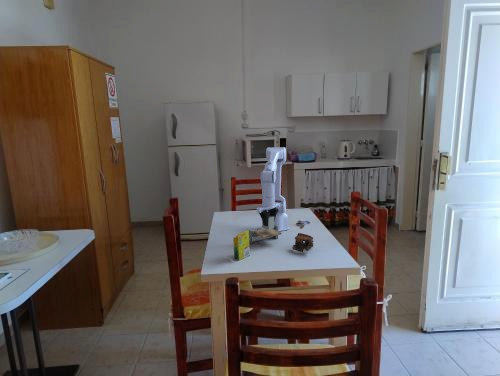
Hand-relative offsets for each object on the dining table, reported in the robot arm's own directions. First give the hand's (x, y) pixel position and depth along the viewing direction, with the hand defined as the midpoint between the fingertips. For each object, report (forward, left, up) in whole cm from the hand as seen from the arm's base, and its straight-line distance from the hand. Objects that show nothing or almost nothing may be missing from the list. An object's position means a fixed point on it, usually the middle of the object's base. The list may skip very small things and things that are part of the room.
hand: (268, 224), depth 156 cm
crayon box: (+18, +7, -10) cm, 22 cm away
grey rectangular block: (0, 0, -2) cm, 2 cm away
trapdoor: (0, -6, -4) cm, 7 cm away
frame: (0, -6, -10) cm, 12 cm away
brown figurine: (-9, +15, -11) cm, 20 cm away
